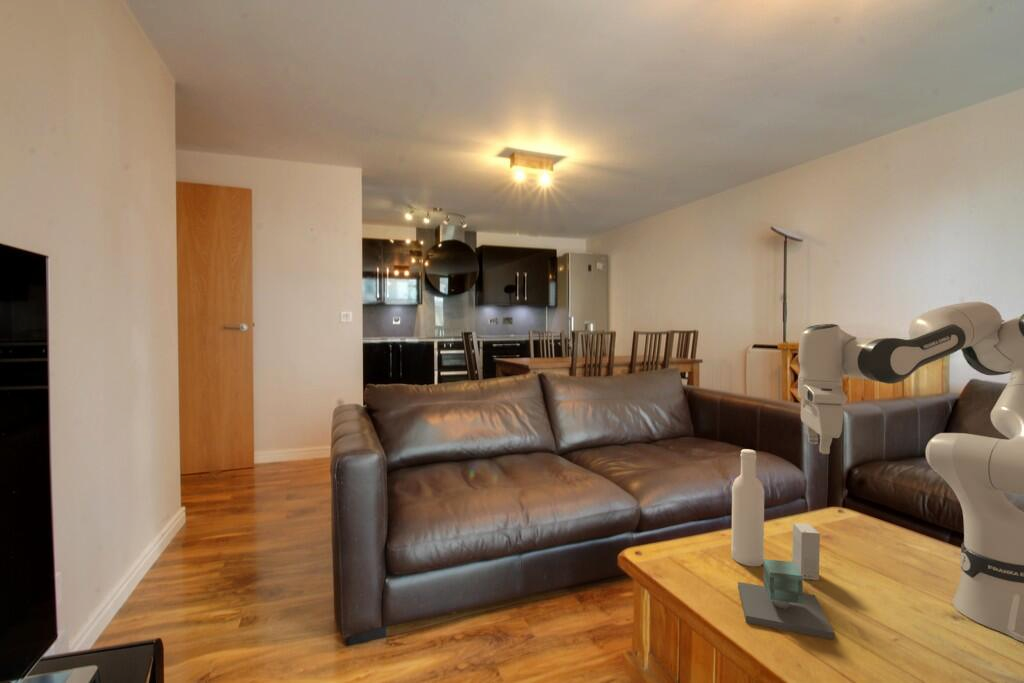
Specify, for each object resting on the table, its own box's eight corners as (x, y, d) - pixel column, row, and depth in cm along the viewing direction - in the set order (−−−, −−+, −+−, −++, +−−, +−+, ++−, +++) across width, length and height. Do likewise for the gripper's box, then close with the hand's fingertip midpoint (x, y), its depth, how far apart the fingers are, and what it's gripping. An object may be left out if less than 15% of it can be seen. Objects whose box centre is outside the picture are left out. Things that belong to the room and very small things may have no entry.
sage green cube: (794, 588, 104) (793, 562, 104) (802, 603, 98) (802, 575, 98) (763, 584, 106) (763, 558, 106) (770, 599, 100) (769, 572, 100)
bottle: (724, 556, 127) (725, 449, 126) (743, 550, 130) (744, 445, 129) (751, 569, 120) (752, 456, 119) (770, 562, 123) (771, 452, 122)
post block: (814, 601, 106) (815, 562, 106) (833, 639, 93) (834, 596, 92) (738, 587, 111) (738, 551, 111) (745, 622, 98) (746, 581, 98)
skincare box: (819, 581, 114) (820, 533, 114) (800, 579, 115) (801, 532, 115) (809, 568, 120) (809, 523, 120) (791, 567, 121) (791, 522, 121)
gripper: (794, 385, 121) (793, 437, 122) (815, 396, 102) (814, 457, 102) (822, 386, 119) (821, 439, 119) (849, 397, 100) (848, 460, 100)
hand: (818, 448), depth 111 cm, fingers open, 8 cm apart
